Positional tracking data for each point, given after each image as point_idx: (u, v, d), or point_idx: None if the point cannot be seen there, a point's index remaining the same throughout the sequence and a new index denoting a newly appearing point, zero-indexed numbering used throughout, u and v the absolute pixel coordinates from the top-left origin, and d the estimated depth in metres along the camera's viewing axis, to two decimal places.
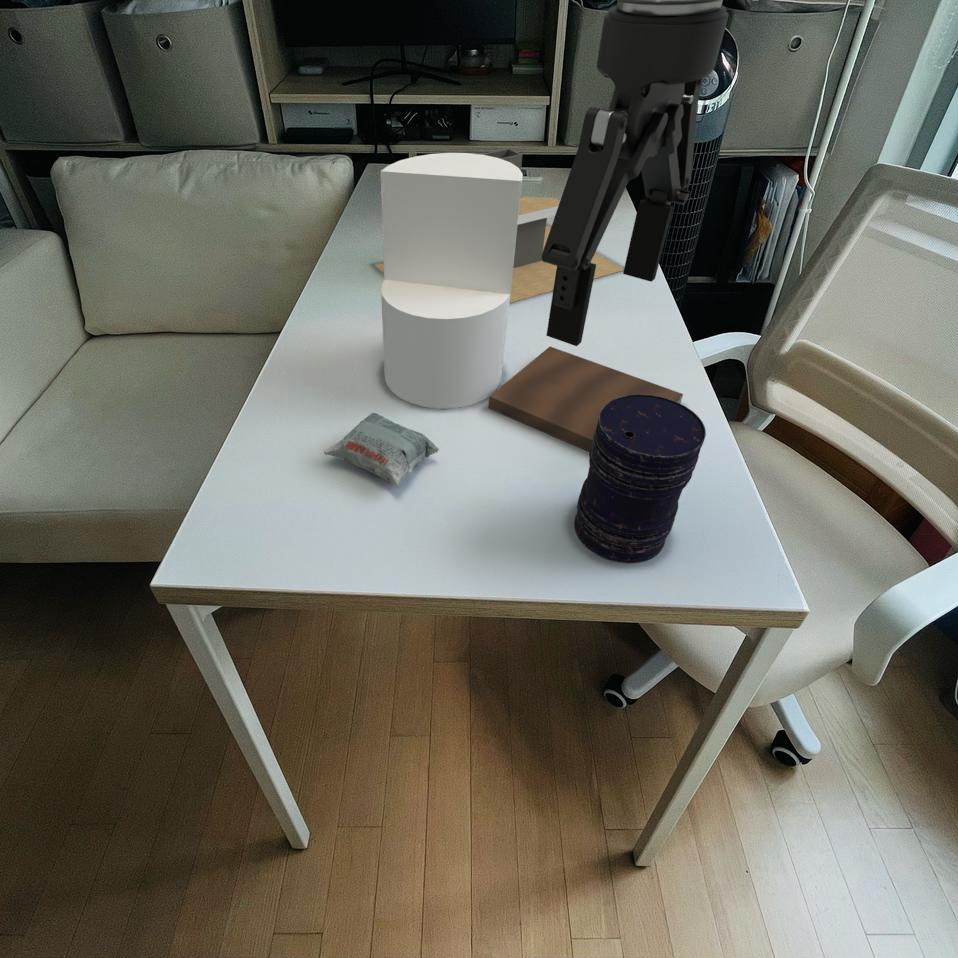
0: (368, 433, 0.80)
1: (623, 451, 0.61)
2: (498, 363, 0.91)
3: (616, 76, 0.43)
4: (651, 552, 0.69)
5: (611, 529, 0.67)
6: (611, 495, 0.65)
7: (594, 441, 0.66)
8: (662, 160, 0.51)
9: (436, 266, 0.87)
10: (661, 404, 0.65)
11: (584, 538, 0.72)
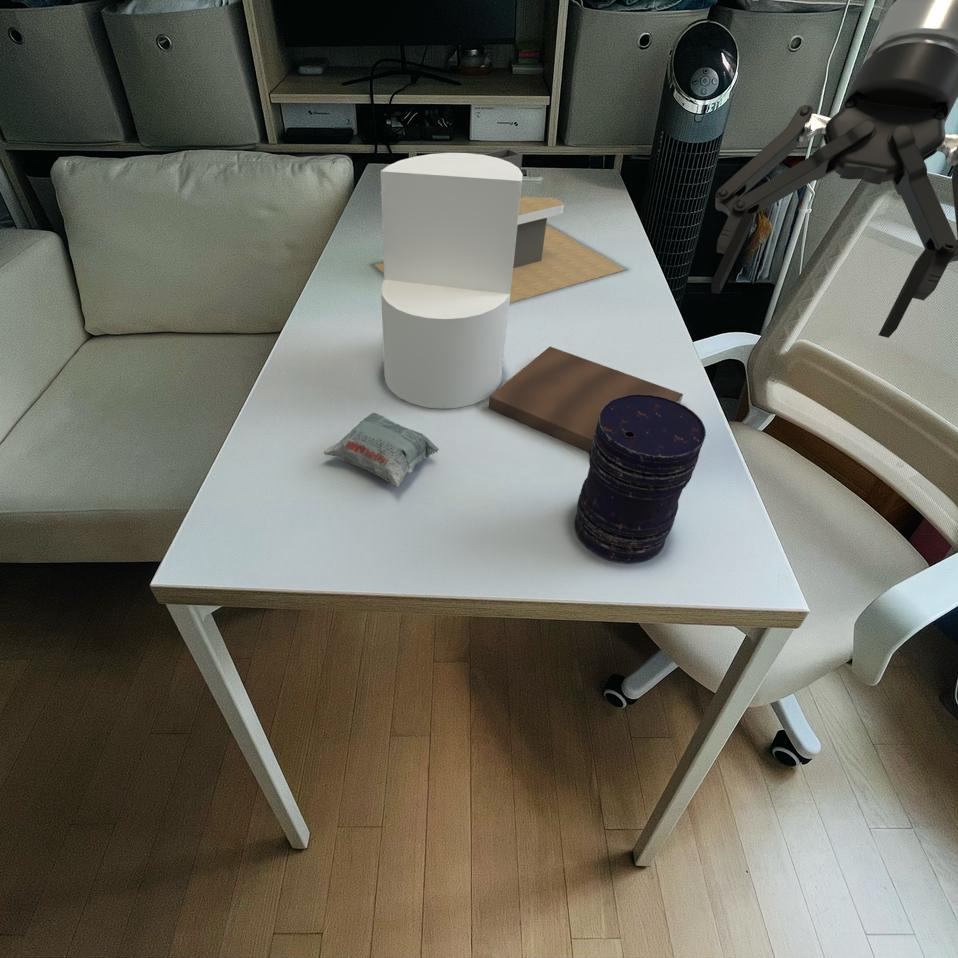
0: (368, 433, 0.80)
1: (623, 451, 0.61)
2: (498, 363, 0.91)
3: None
4: (651, 552, 0.69)
5: (611, 529, 0.67)
6: (611, 495, 0.65)
7: (594, 441, 0.66)
8: (911, 193, 0.54)
9: (436, 266, 0.87)
10: (661, 404, 0.65)
11: (584, 538, 0.72)
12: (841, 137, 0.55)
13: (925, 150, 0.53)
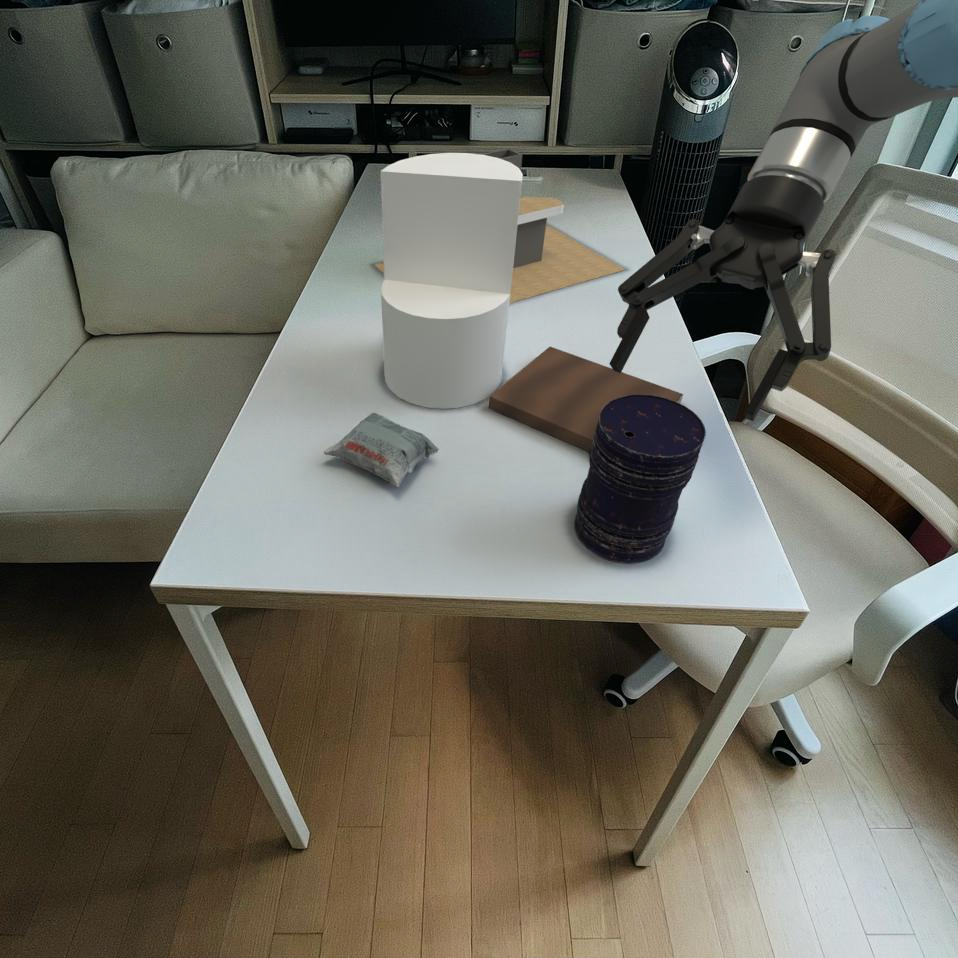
0: (368, 433, 0.80)
1: (623, 451, 0.61)
2: (498, 363, 0.91)
3: None
4: (651, 552, 0.69)
5: (611, 529, 0.67)
6: (611, 495, 0.65)
7: (594, 441, 0.66)
8: (772, 300, 0.63)
9: (436, 266, 0.87)
10: (661, 404, 0.65)
11: (584, 538, 0.72)
12: (718, 249, 0.65)
13: (785, 264, 0.62)
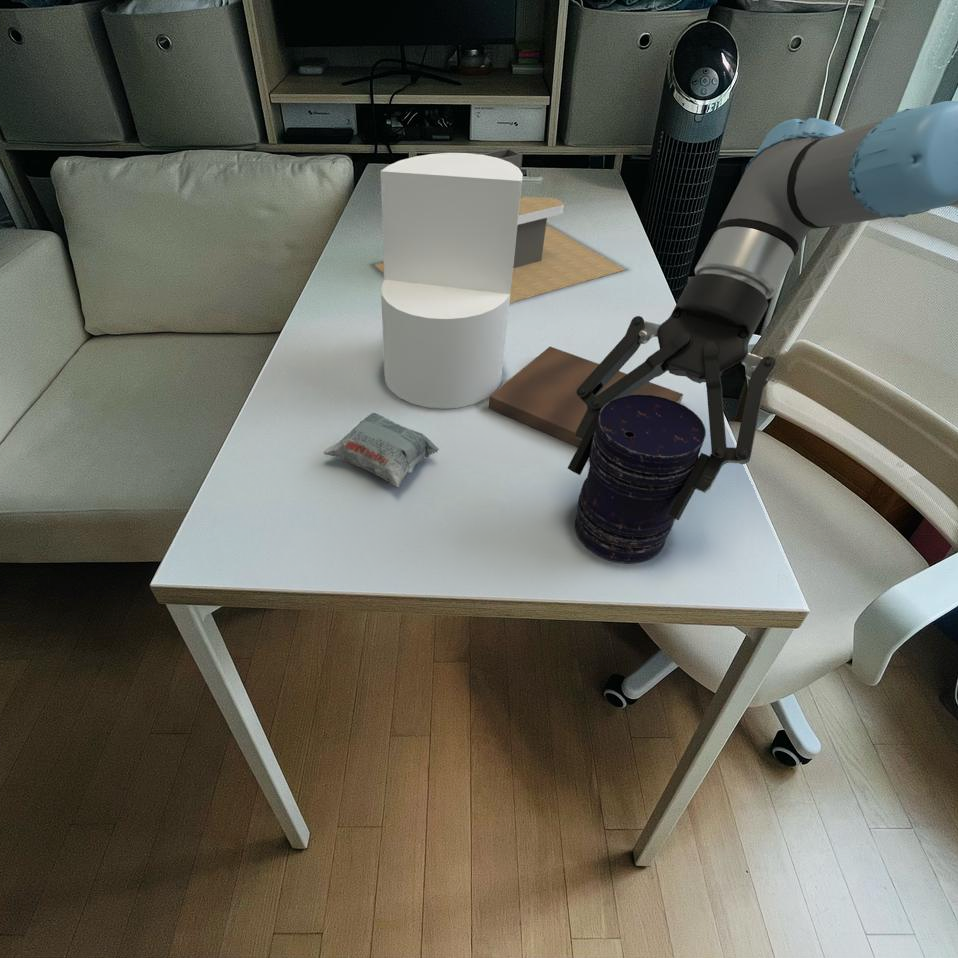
0: (368, 433, 0.80)
1: (623, 451, 0.61)
2: (498, 363, 0.91)
3: None
4: (651, 552, 0.69)
5: (611, 529, 0.67)
6: (611, 495, 0.65)
7: (594, 441, 0.66)
8: None
9: (436, 266, 0.87)
10: (661, 404, 0.65)
11: (584, 538, 0.72)
12: (665, 346, 0.64)
13: (730, 363, 0.62)
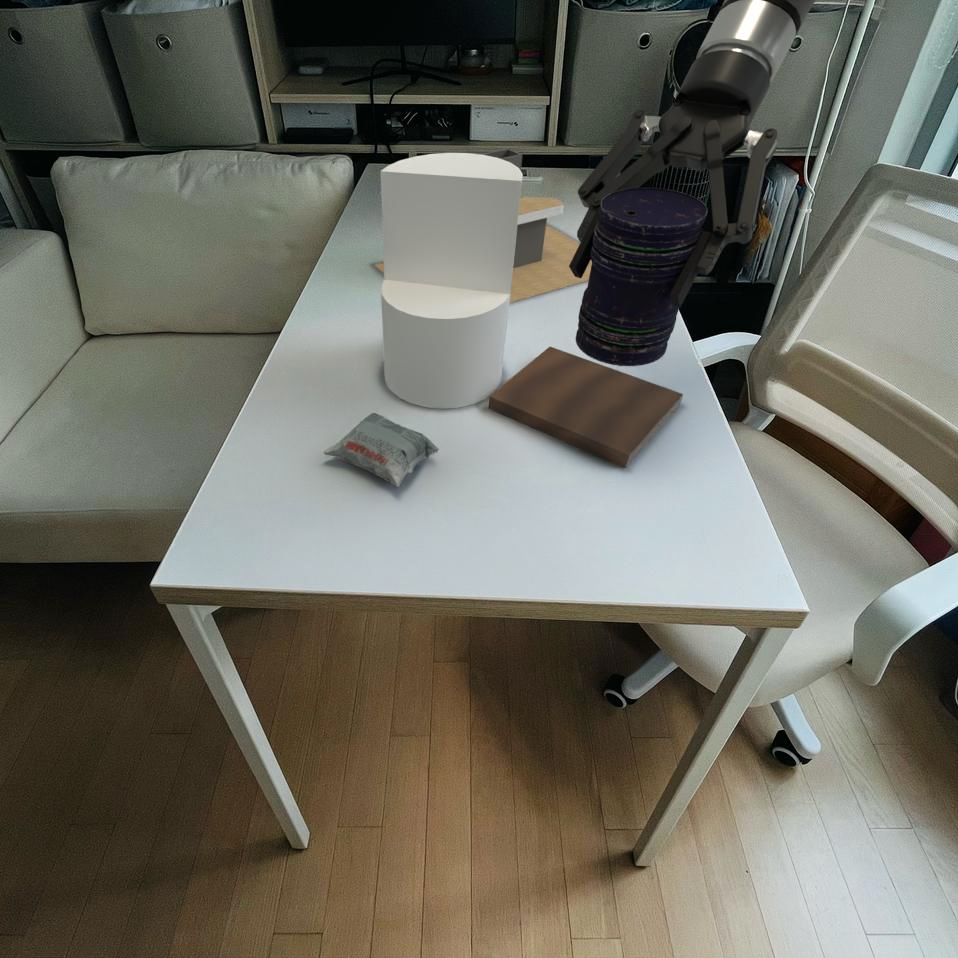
0: (368, 433, 0.80)
1: (625, 226, 0.61)
2: (498, 363, 0.91)
3: None
4: (653, 354, 0.69)
5: (613, 325, 0.67)
6: (613, 284, 0.65)
7: (596, 232, 0.66)
8: (709, 180, 0.63)
9: (436, 266, 0.87)
10: (663, 194, 0.65)
11: (585, 346, 0.72)
12: (667, 133, 0.64)
13: (732, 141, 0.62)
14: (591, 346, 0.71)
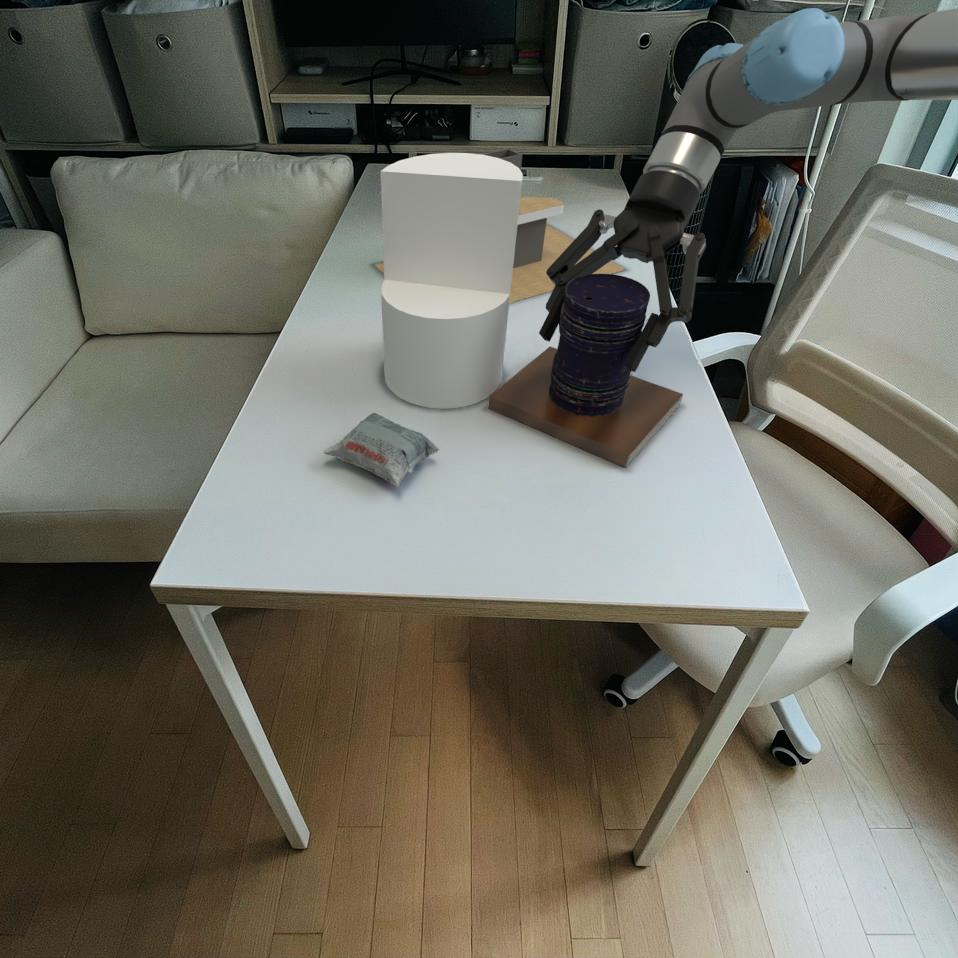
0: (368, 433, 0.80)
1: (584, 310, 0.76)
2: (498, 363, 0.91)
3: None
4: (610, 407, 0.85)
5: (577, 384, 0.83)
6: (576, 353, 0.81)
7: (562, 310, 0.81)
8: (654, 271, 0.78)
9: (436, 266, 0.87)
10: (616, 280, 0.81)
11: (556, 399, 0.87)
12: (619, 231, 0.80)
13: (669, 242, 0.77)
14: (560, 399, 0.86)
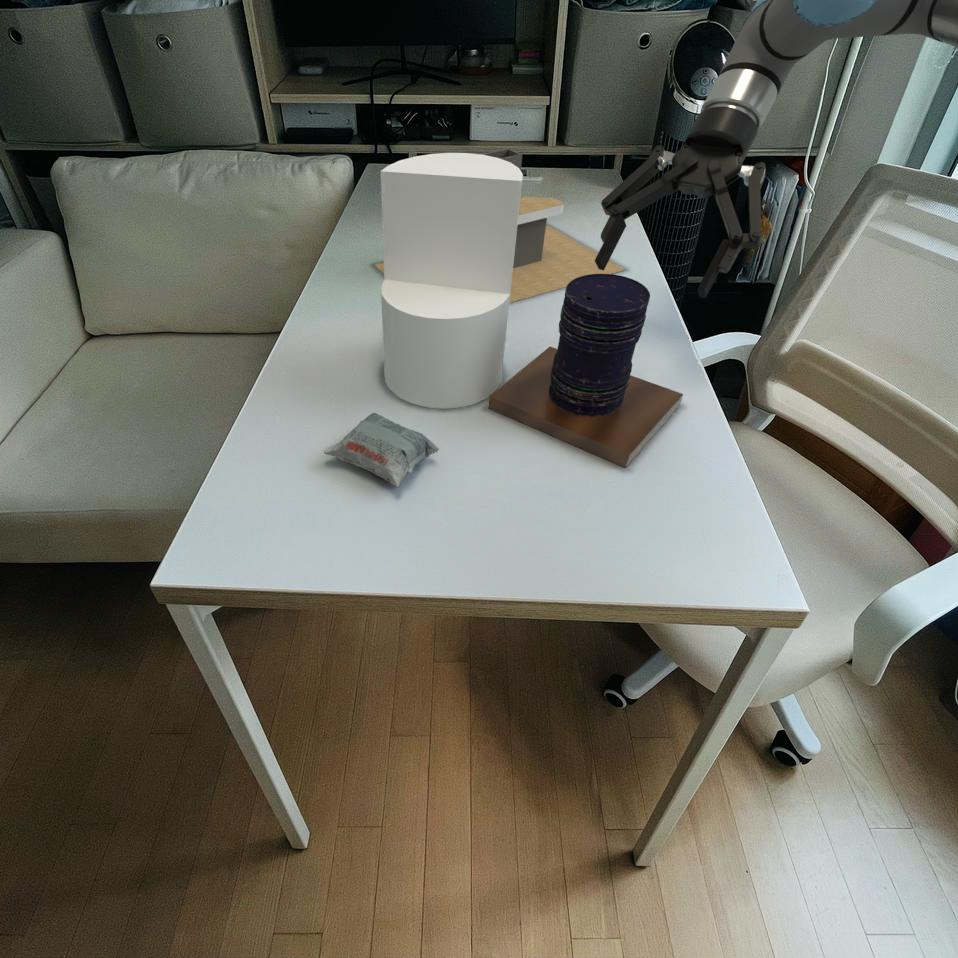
0: (368, 433, 0.80)
1: (584, 310, 0.76)
2: (498, 363, 0.91)
3: None
4: (610, 407, 0.85)
5: (577, 384, 0.83)
6: (576, 353, 0.81)
7: (562, 310, 0.81)
8: (719, 203, 0.81)
9: (436, 266, 0.87)
10: (616, 280, 0.81)
11: (556, 399, 0.87)
12: (678, 166, 0.83)
13: (728, 175, 0.81)
14: (560, 399, 0.86)
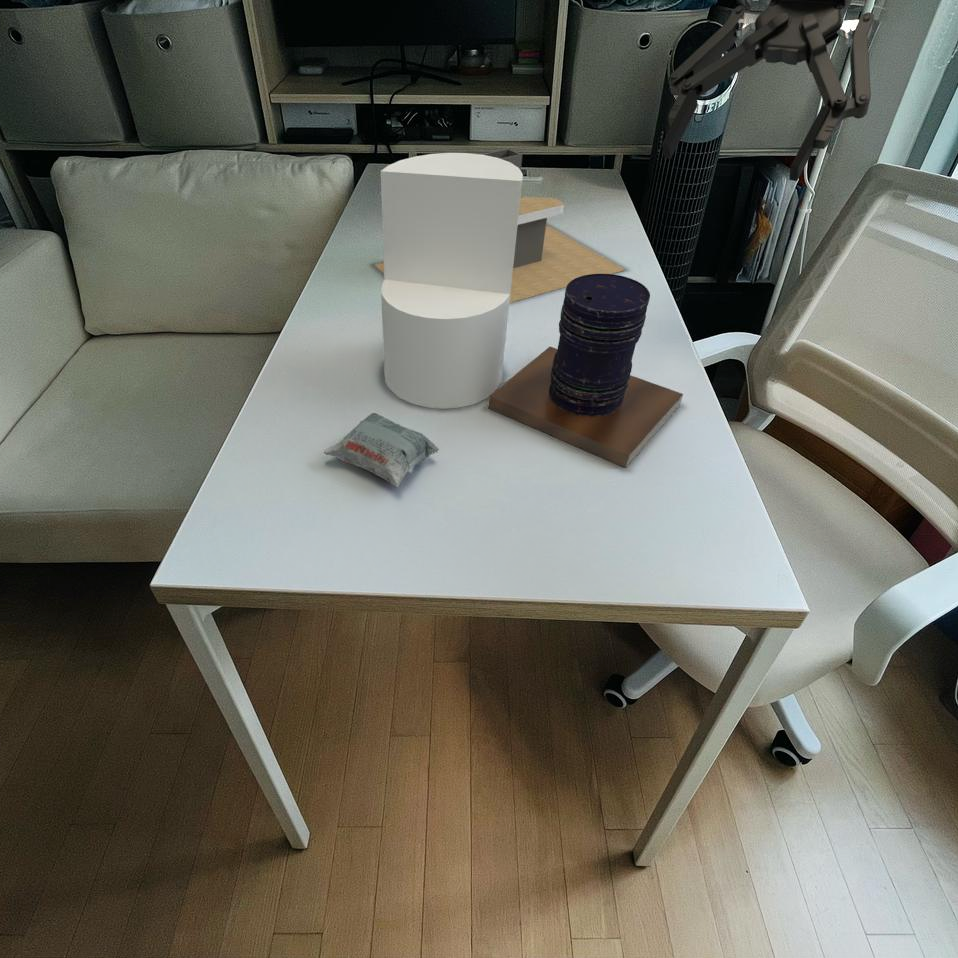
0: (368, 433, 0.80)
1: (584, 310, 0.76)
2: (498, 363, 0.91)
3: None
4: (610, 407, 0.85)
5: (577, 384, 0.83)
6: (576, 353, 0.81)
7: (562, 310, 0.81)
8: (815, 66, 0.69)
9: (436, 266, 0.87)
10: (616, 280, 0.81)
11: (556, 399, 0.87)
12: (764, 26, 0.71)
13: (827, 33, 0.68)
14: (560, 399, 0.86)
